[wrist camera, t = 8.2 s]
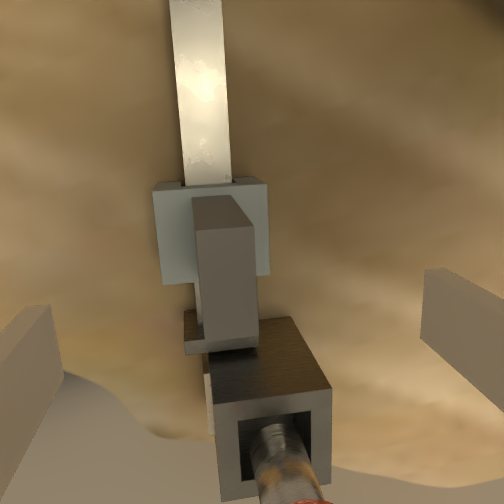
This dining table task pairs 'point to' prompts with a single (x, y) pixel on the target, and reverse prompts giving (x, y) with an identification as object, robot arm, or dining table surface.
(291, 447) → the plunger
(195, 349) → the rail
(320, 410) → the grey square housing
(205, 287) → the carriage
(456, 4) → the dining table surface
